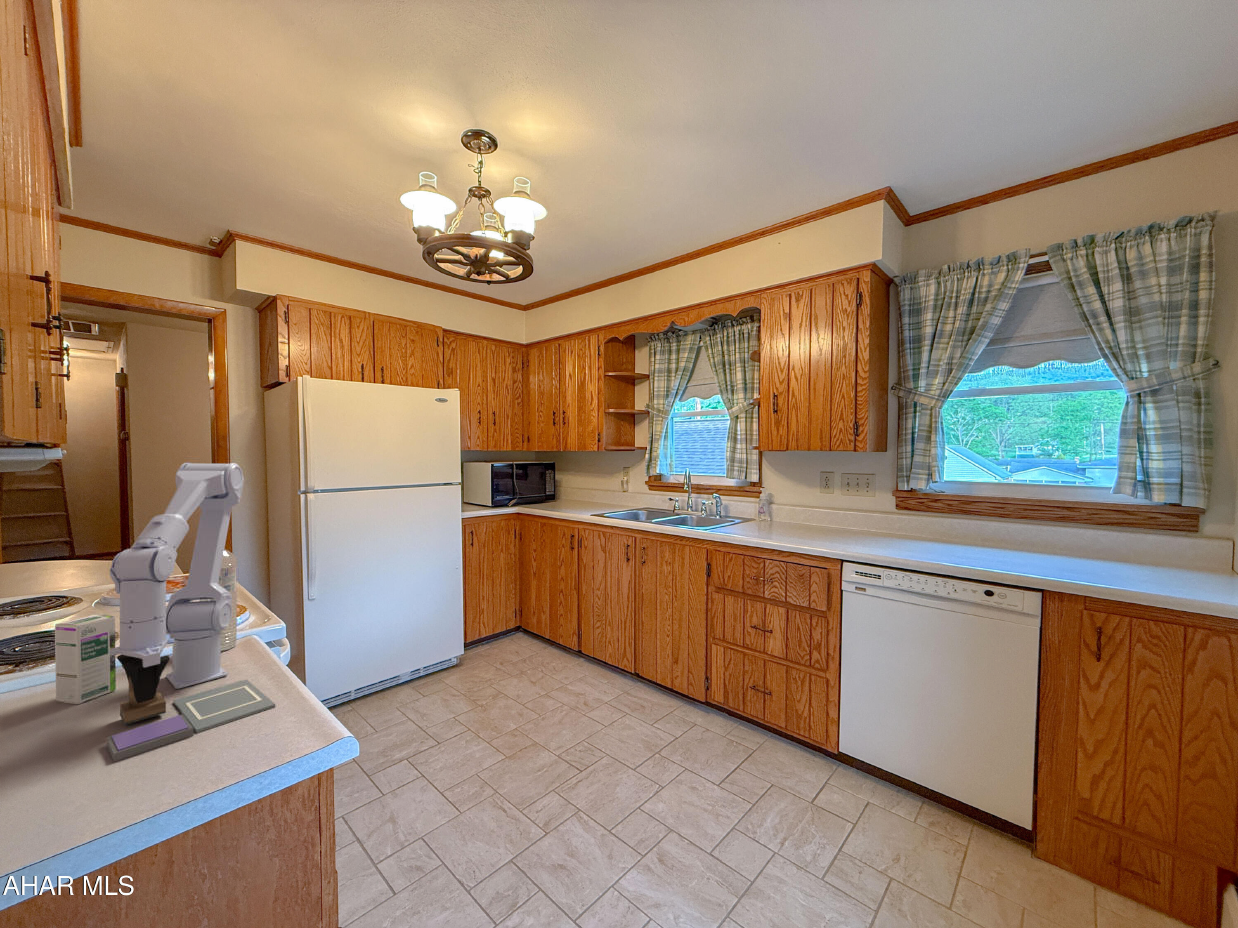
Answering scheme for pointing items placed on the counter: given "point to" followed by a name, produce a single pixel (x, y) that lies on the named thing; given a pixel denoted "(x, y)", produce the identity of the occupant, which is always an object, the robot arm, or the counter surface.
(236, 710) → the board
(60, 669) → the syrup box
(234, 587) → the water bottle
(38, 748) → the counter surface
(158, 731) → the ink pad
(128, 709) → the stamp
